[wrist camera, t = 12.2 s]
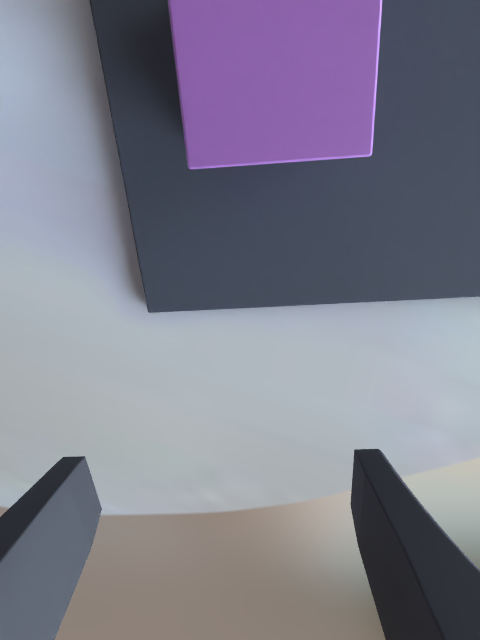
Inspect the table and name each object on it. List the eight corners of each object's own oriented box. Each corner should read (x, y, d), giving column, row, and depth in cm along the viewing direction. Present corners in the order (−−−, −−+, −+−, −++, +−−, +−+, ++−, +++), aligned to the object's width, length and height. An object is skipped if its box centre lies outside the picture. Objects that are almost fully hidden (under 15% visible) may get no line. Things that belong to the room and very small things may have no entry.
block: (207, 155, 16) (187, 170, 11) (191, -7, 13) (158, -70, 9) (338, 145, 15) (372, 156, 11) (344, -22, 13) (389, -96, 9)
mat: (150, 308, 19) (147, 313, 19) (77, -87, 13) (71, -95, 13) (597, 286, 18) (605, 290, 17) (749, -166, 12) (769, -177, 11)
